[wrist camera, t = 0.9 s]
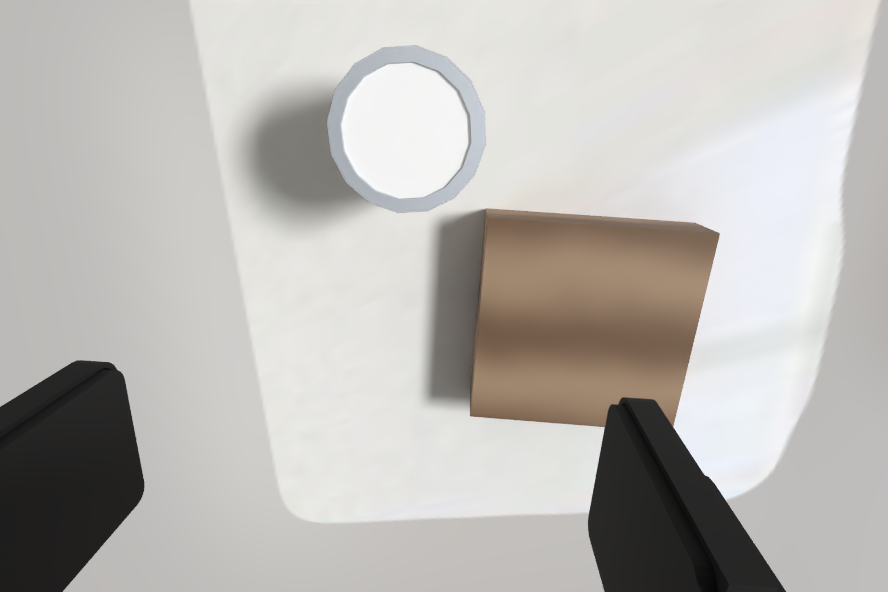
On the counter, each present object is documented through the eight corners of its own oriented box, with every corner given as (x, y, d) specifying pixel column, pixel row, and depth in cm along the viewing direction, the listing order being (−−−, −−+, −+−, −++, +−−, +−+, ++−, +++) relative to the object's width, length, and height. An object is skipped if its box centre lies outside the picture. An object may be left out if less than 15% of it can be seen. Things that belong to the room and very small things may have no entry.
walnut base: (486, 208, 29) (488, 217, 26) (695, 222, 29) (719, 233, 26) (470, 391, 33) (470, 416, 30) (654, 405, 33) (671, 432, 30)
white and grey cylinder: (354, 185, 29) (321, 202, 22) (365, 55, 27) (331, 32, 20) (472, 202, 29) (473, 224, 22) (492, 73, 27) (499, 56, 20)
